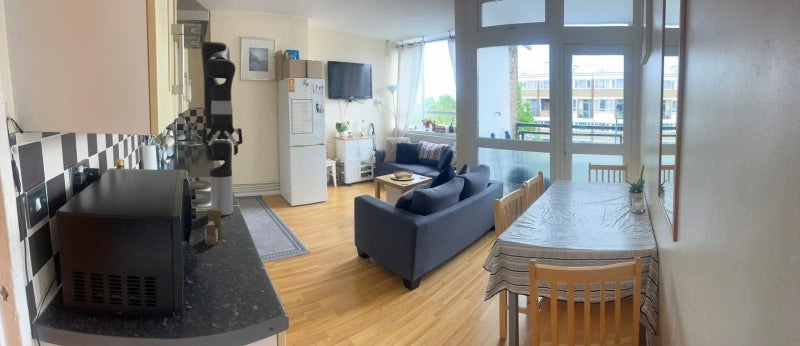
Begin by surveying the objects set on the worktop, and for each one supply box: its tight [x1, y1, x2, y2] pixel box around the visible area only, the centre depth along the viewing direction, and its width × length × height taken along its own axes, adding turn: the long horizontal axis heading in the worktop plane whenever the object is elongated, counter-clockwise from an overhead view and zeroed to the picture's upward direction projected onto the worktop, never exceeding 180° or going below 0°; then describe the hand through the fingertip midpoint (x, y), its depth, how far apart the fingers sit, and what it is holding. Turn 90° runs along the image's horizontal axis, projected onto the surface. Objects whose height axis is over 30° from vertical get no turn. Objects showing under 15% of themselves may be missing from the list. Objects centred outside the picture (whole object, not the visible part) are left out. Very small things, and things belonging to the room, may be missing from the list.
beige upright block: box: [205, 221, 217, 246], centre depth 165 cm, size 6×3×8 cm, turn 17°
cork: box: [206, 208, 225, 240], centre depth 172 cm, size 6×6×11 cm
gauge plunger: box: [204, 225, 220, 244], centre depth 167 cm, size 5×4×6 cm
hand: (223, 155), depth 178 cm, fingers open, 8 cm apart
